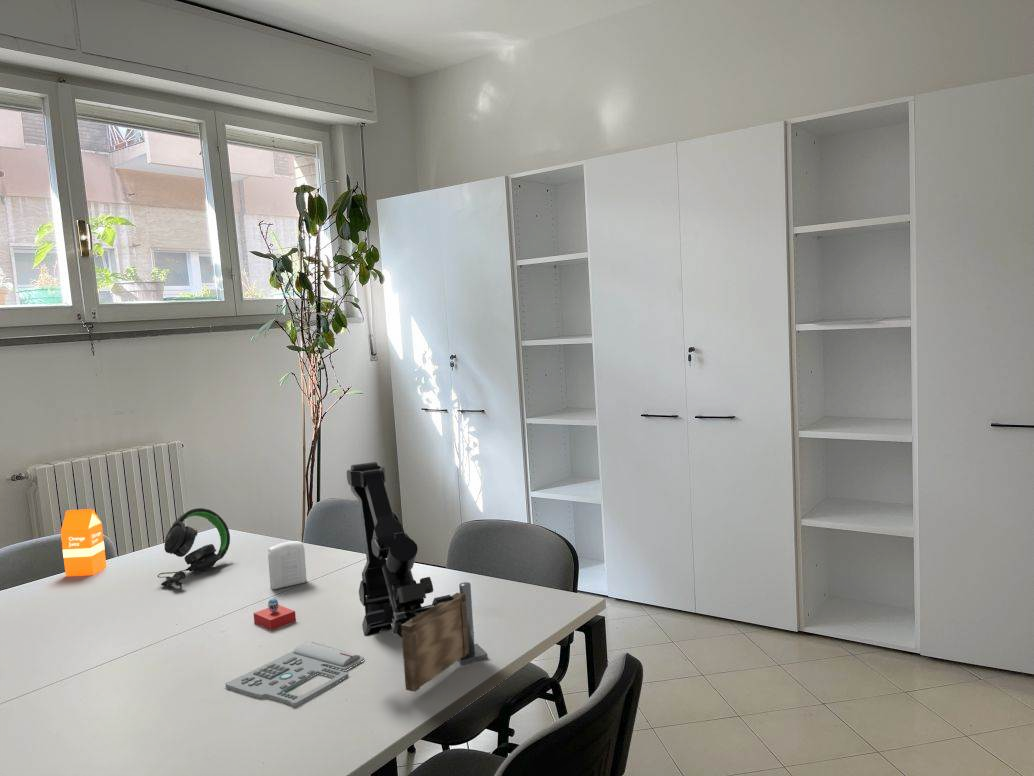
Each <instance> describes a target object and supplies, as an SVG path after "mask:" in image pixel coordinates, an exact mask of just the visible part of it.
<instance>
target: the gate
mask: <svg viewBox="0 0 1034 776" xmlns="http://www.w3.org/2000/svg"><path fill="white" fill-rule="evenodd" d="M451 596H452V597H453V598H454V599H453V600H450V601H446V602H441V603H438V604H437V605H435V606H433V607H431V608H430V609H428V610H426V611H424V612H423V613H421V614H419V615H417V616H416V617H414V618H412V619H410V620H409V621H407V622H405V623H404V624H402V625H401V632H402V638H401V641H402V642H401V645H402V656H403V659H402V660H403V668H404V670H403V671H404V684H405V685H404V686H405V690H406V691H409V692H413V693H416V692H417V691H418V690H420V688H421V687H423V685H425V684H427V683H428V682H430V681H431V680H432V679H434V678H435V677H436V676H437V675H439V674H441V673H442V672H443V671H445V670H447V669H449V667H450V666H453V664H455V663H457V662H458V660H459V659H460V658H462V657H463V656H466V655H468V654H469V640H468V625H467V610H466V594H462V593H460V592H456V593H453V594H452V595H451Z"/></svg>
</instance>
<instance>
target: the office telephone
mask: <svg viewBox="0 0 1034 776" xmlns="http://www.w3.org/2000/svg"><path fill="white" fill-rule="evenodd" d="M363 660H364V661H365V658H364V656H362V655H359V654H356V653H352V652H347V651H345V650H342V649H339V648H334V647H332V646H327V645H324V644H320V643H318V642H317V643H316V642H314V641H312V642H310V641H306V642H303V643H300V644H298V645H297V646H296V648H294V649H293V650H292V651H290V652H287V653H286V654H284V655H281V656H280V657H278V658H276V659H274V660H272V661H270V662H267V663H265V664H263V665H261V666H259V667H257V668H255V669H254V670H251V671H249V672H247V673H244V674H243V675H240V676H238V677H236V678H233V679H231V680H229V681H228V682H225V683H224V684H225V689H227V690H230V691H234V692H237V693H239V694H243V695H246V696H250V697H253V698H256V699H262V700H263V699H270V700H273V701H276V702H280V703H283V704H286V705H289V706H291V707H292V708H296V707H298V706H300V705H303V704H304V703H306V702H307V701H310V700H311V699H313V698H315V697H316V696H319V695H320V694H322V693H323V692H325V691H326V689H327V690H329V689H330V688H332V687H333V686H335V685H337V684H338V683H337V682H339V681H340V680H342V679H343V678H345V677H347V676H348V677H349V672H347V671H348V670H347V669H349V668H350V667H352V666H354V665H356V664H358V663H359V662H361V661H363ZM364 661H363V662H364ZM358 665H359V664H358ZM325 666H329V667H334V668H337V669H341V670H347V671H340V670H336V669H333V668H329V667H325ZM356 666H357V665H356ZM349 670H350V669H349ZM317 673H319V674H323V675H327V676H330V677H333V678H330V677H329V678H330V680H328V681H326V682H324V683H322V684H320V685H319V686H317V687H315V688H314V689H312V690H310V691H308V692H306V693H304V694H302V695H295V694H292V693H288V691H289V690H292V689H294V688H295V687H297V686H299V685H301V684H302V683H304V682H306V681H307V679H308V678H310V677H311V676H313V675H315V674H317ZM319 674H317V675H319ZM323 675H322V676H323ZM315 676H316V675H315ZM313 677H314V676H313ZM348 677H347V678H348ZM311 678H312V677H311ZM311 678H310V679H311ZM345 679H346V678H345ZM305 680H306V681H305ZM308 680H309V679H308ZM343 680H344V679H343ZM343 680H342V681H343ZM303 681H304V682H303ZM340 682H341V681H340ZM340 682H339V683H340ZM300 683H301V684H300ZM336 683H337V684H336ZM331 686H332V687H331ZM329 687H330V688H329Z"/></svg>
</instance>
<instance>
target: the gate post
mask: <svg viewBox="0 0 1034 776" xmlns="http://www.w3.org/2000/svg"><path fill="white" fill-rule="evenodd" d="M458 586H459V587H458V588H459V593H462V594H466V610H467V625H468V640H469V654H468V655H466V656H463V657H462V658H460V659H459V660H458V661H457V662H458V663H459V664H460V665H461V666H464V665H467V664H469V663H470V664H471V663H475V662H478V661H482V660H487V659H489V658H488V657H489V656H488V653H487V651H485V650H484V649H483V648H482V647H481V646H480V645H479V644H478V643H475V633H474V619H473V605H472V604H473V602H472V587H471V586H472V585H471V583H470V582H468V581H467V582H460V583H459V585H458Z"/></svg>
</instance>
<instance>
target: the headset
mask: <svg viewBox="0 0 1034 776" xmlns="http://www.w3.org/2000/svg"><path fill="white" fill-rule="evenodd" d="M190 517H201V518H204V519H206V520H207V521H209V523H210V524H212V525H213V526H214V527H215V528H216V530H217V532H218V535H219V538H220V547H219V550H218V552H217V549H216V547H215V545H214V544H213V543H211V544H210V543H209V544H205V545H203V546H202V547H199V548H198V549H195V550H194V551H191V549H192V548H193V545H194V543H195V541H196V537H198V529H196V530H195V528H194V527H191V526H188V525H185V523H184V521H185V520H186V519H188V518H190ZM164 540H165V541H164V551H165V552H166V554H170V555H175V556H176V557H179V558H183V557H184V556H185V557H184V561H185V563H186V564H187V565H190V566H188V567H187V568H185V569H183V570H179V571H171V572H161V573H158V574H157V578H158V579H159V578H160V579H161V578H165V580H164V581H163V582H161V584H160V586H163V587H165V588H170V587H172V585H173V584H175V585H176V586H178V587H182V586H183V583H182V582H181V581H183V580H184V579H186V575H187V573H186V572H188V571H189V572H205V571H207V570H209V569H211V568H213V566H215V564H216V563H217V562H218V561H220V560H222V559H223V558H224V557H225V556H226V554H227V552H228V550H229V547H230V544H231V535H230V529H229V527H228V525H227V523H226V522H225V520H224V519H223V518H222V516H220V515H219V514H217V513H216V512H214V511H213V510H212V509H207V508H203V507H202V508H201V507H200V508H199V507H197V508H193V509H190V510H187V512H184V513H183V514H182V515H180V516H179V517H177V519H176V520H175V521H173V524H172V526H171V527H170V528H169V531H168V532H167V534H166V536H165V539H164ZM190 551H191V552H190ZM189 552H190V553H189ZM216 552H217V554H216ZM165 574H173V575H172V576H161V575H165Z"/></svg>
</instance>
